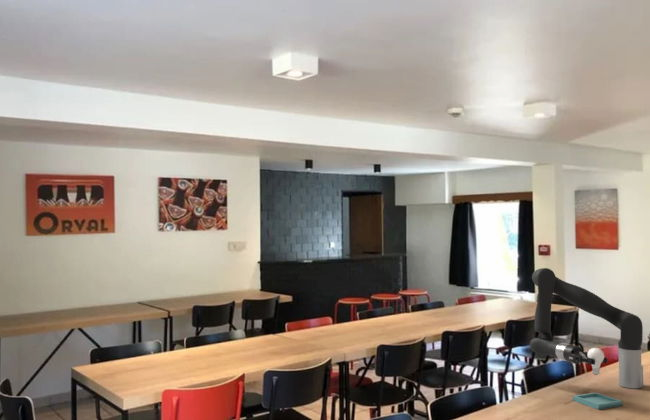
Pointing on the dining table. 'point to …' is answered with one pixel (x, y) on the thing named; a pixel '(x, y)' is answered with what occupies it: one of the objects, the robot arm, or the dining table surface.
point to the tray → (597, 400)
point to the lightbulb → (596, 359)
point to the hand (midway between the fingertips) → (600, 361)
